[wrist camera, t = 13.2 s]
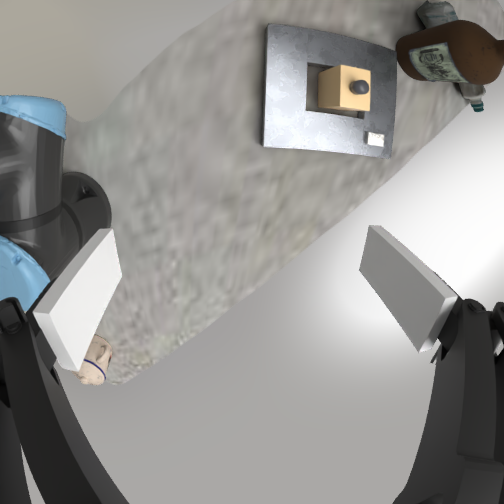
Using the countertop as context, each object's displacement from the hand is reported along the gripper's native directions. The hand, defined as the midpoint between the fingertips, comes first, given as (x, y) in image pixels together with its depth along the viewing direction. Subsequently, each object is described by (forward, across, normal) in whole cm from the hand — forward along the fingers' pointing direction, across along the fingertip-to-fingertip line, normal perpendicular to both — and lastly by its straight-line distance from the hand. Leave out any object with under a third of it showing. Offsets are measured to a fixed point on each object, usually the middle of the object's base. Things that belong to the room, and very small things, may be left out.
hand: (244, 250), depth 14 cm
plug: (+32, +16, +12) cm, 38 cm away
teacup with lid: (+32, -32, -41) cm, 61 cm away
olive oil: (+32, +33, +23) cm, 51 cm away
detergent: (+32, +43, +27) cm, 60 cm away
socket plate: (+32, +16, +12) cm, 37 cm away
